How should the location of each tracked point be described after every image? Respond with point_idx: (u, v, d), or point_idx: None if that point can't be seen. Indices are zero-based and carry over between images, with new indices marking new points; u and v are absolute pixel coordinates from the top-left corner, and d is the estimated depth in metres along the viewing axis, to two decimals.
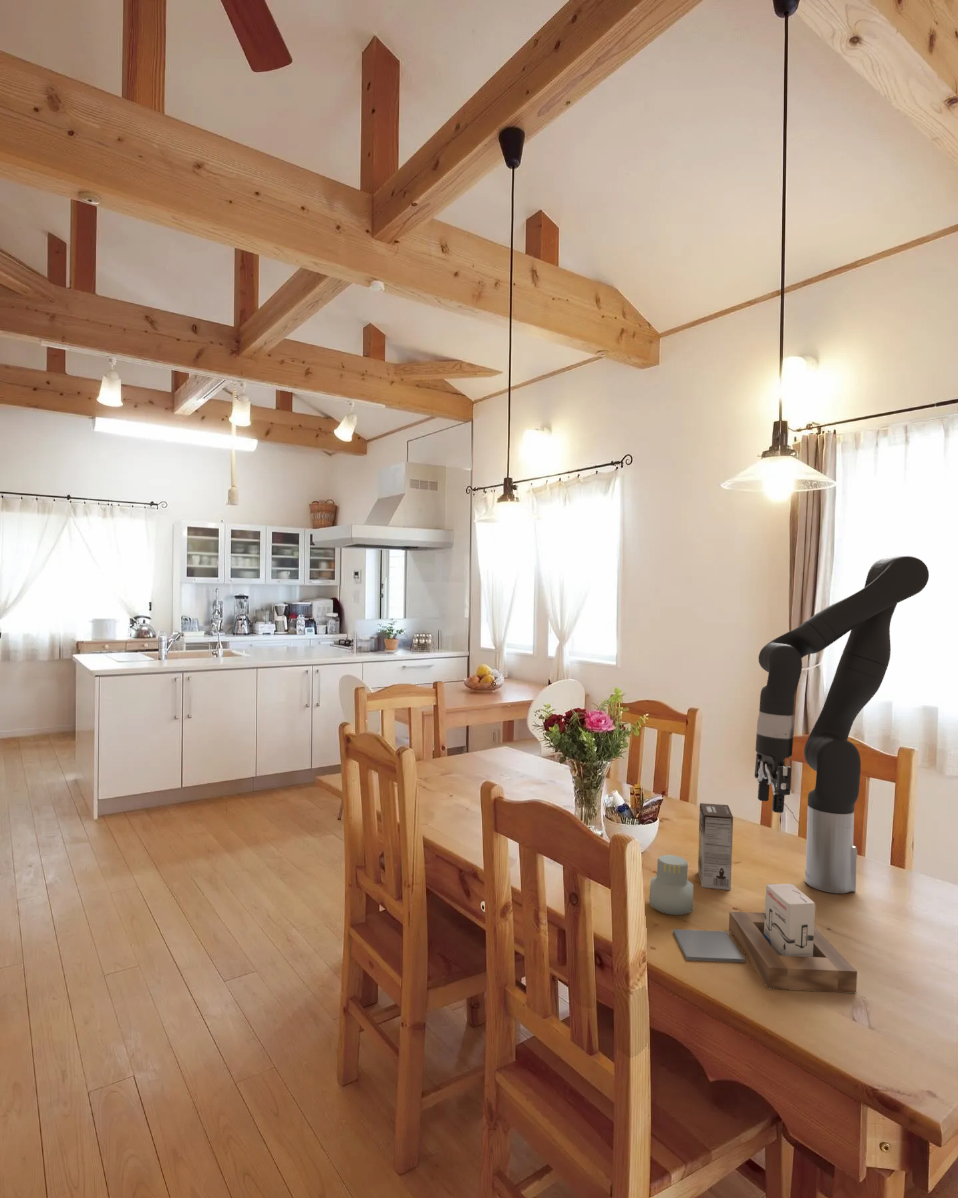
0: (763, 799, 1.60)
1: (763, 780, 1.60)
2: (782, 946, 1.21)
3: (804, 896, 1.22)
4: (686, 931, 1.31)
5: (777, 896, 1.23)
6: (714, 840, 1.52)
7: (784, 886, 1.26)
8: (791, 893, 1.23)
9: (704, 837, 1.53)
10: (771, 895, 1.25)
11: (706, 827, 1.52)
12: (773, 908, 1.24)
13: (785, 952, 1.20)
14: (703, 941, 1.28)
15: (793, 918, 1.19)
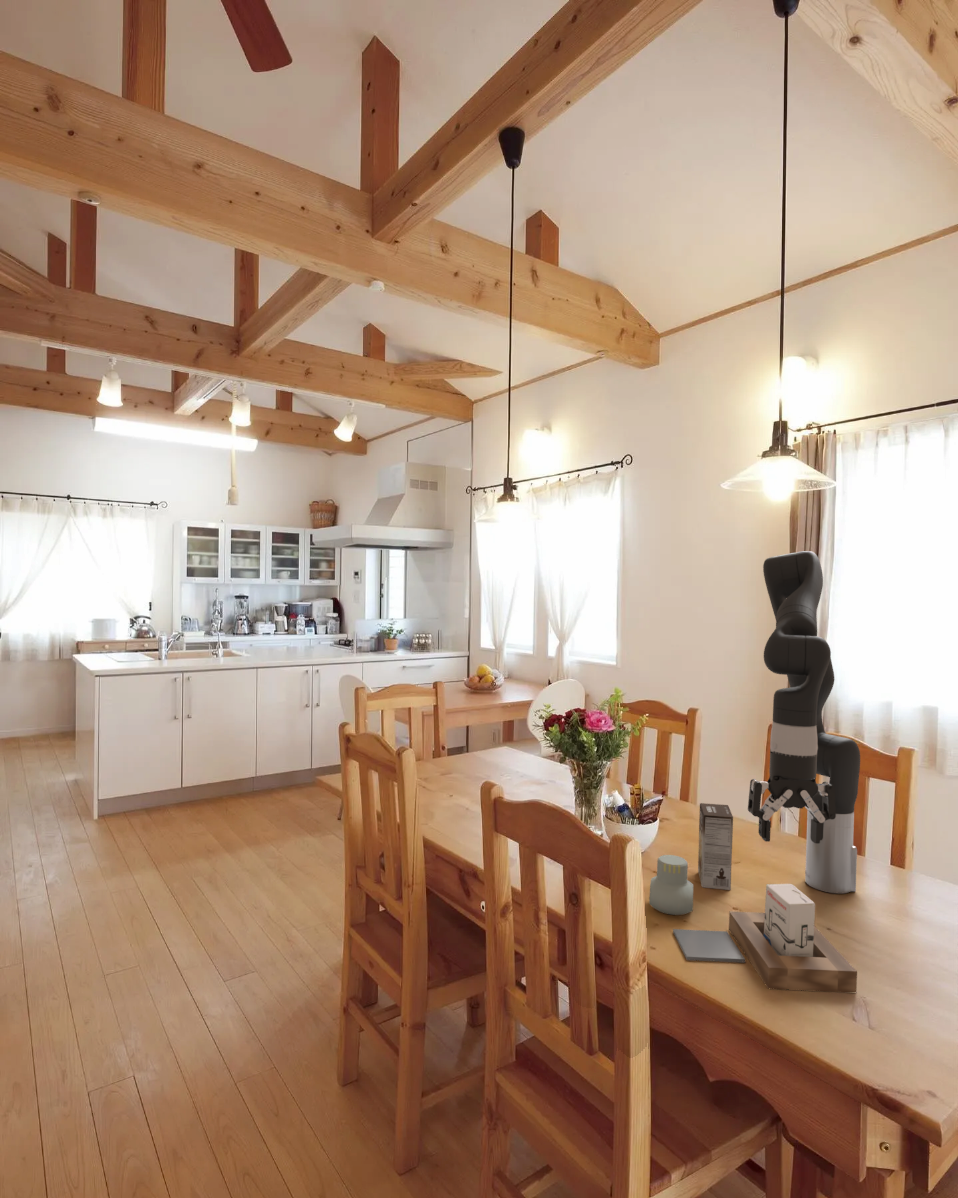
0: None
1: None
2: (782, 946, 1.21)
3: (804, 896, 1.22)
4: (686, 931, 1.31)
5: (777, 896, 1.23)
6: (714, 840, 1.52)
7: (784, 886, 1.26)
8: (791, 893, 1.23)
9: (704, 837, 1.53)
10: (771, 895, 1.25)
11: (706, 827, 1.52)
12: (773, 908, 1.24)
13: (785, 952, 1.20)
14: (703, 941, 1.28)
15: (793, 918, 1.19)
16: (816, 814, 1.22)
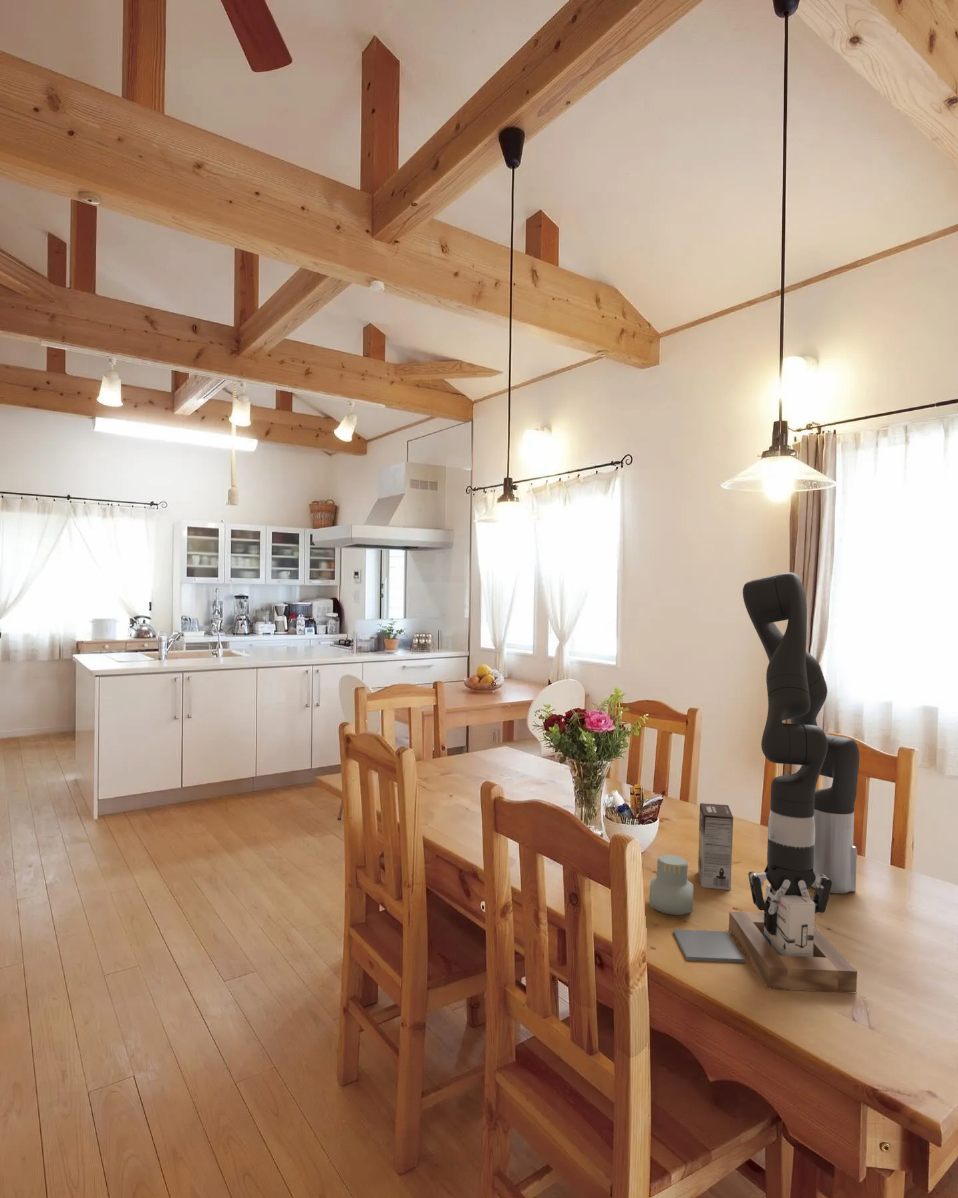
0: None
1: None
2: (782, 945, 1.21)
3: None
4: (686, 931, 1.31)
5: None
6: (714, 840, 1.52)
7: None
8: None
9: (704, 837, 1.53)
10: None
11: (706, 827, 1.52)
12: None
13: (785, 952, 1.20)
14: (703, 941, 1.28)
15: (793, 917, 1.19)
16: None
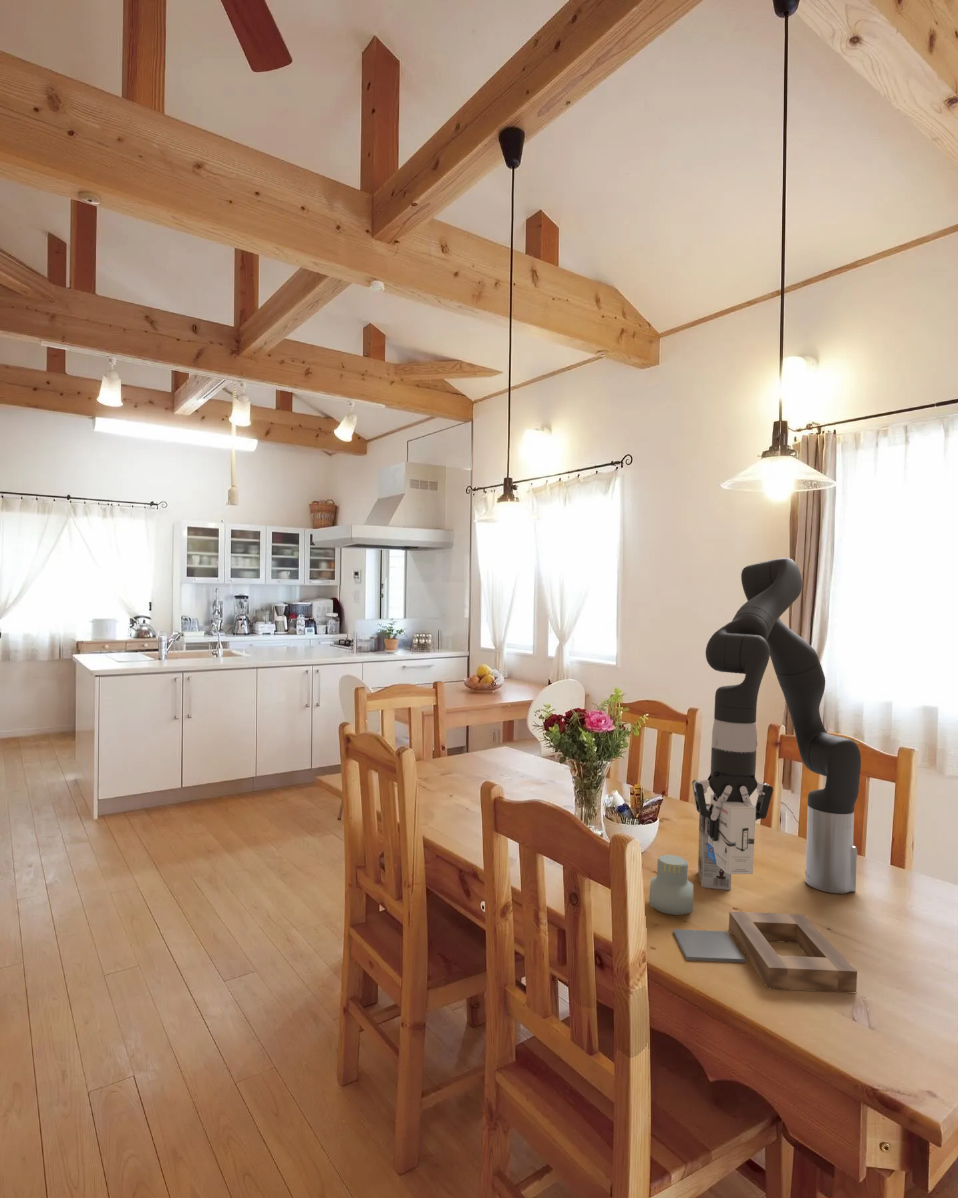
0: None
1: None
2: (724, 850, 1.22)
3: None
4: (686, 931, 1.31)
5: None
6: None
7: None
8: None
9: (704, 837, 1.53)
10: None
11: (706, 827, 1.52)
12: None
13: (726, 856, 1.22)
14: (703, 941, 1.28)
15: (734, 821, 1.21)
16: None
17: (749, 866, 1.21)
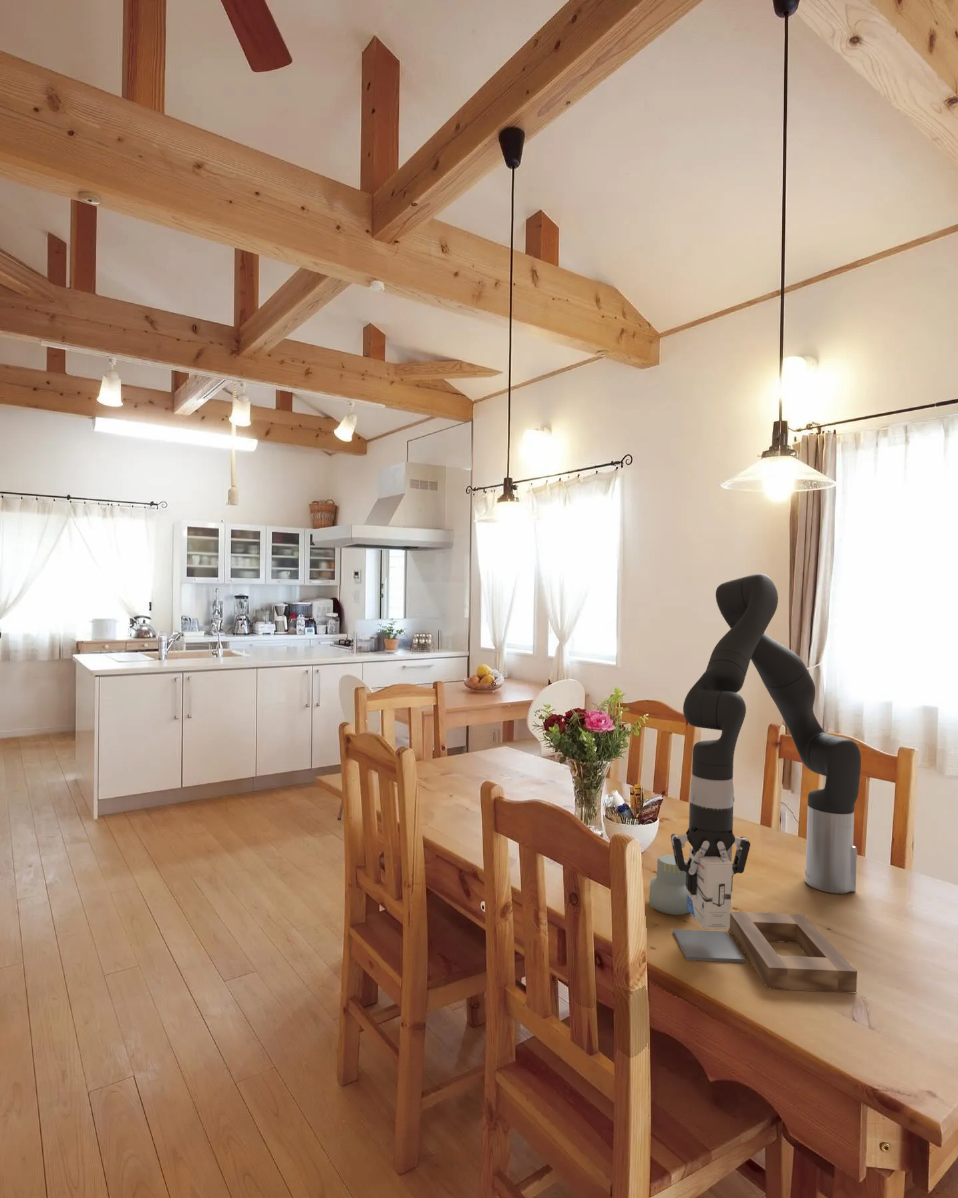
0: None
1: None
2: (701, 904, 1.24)
3: None
4: (686, 931, 1.31)
5: None
6: None
7: None
8: None
9: None
10: None
11: None
12: None
13: (703, 911, 1.23)
14: (703, 941, 1.28)
15: (710, 877, 1.22)
16: None
17: (726, 921, 1.23)
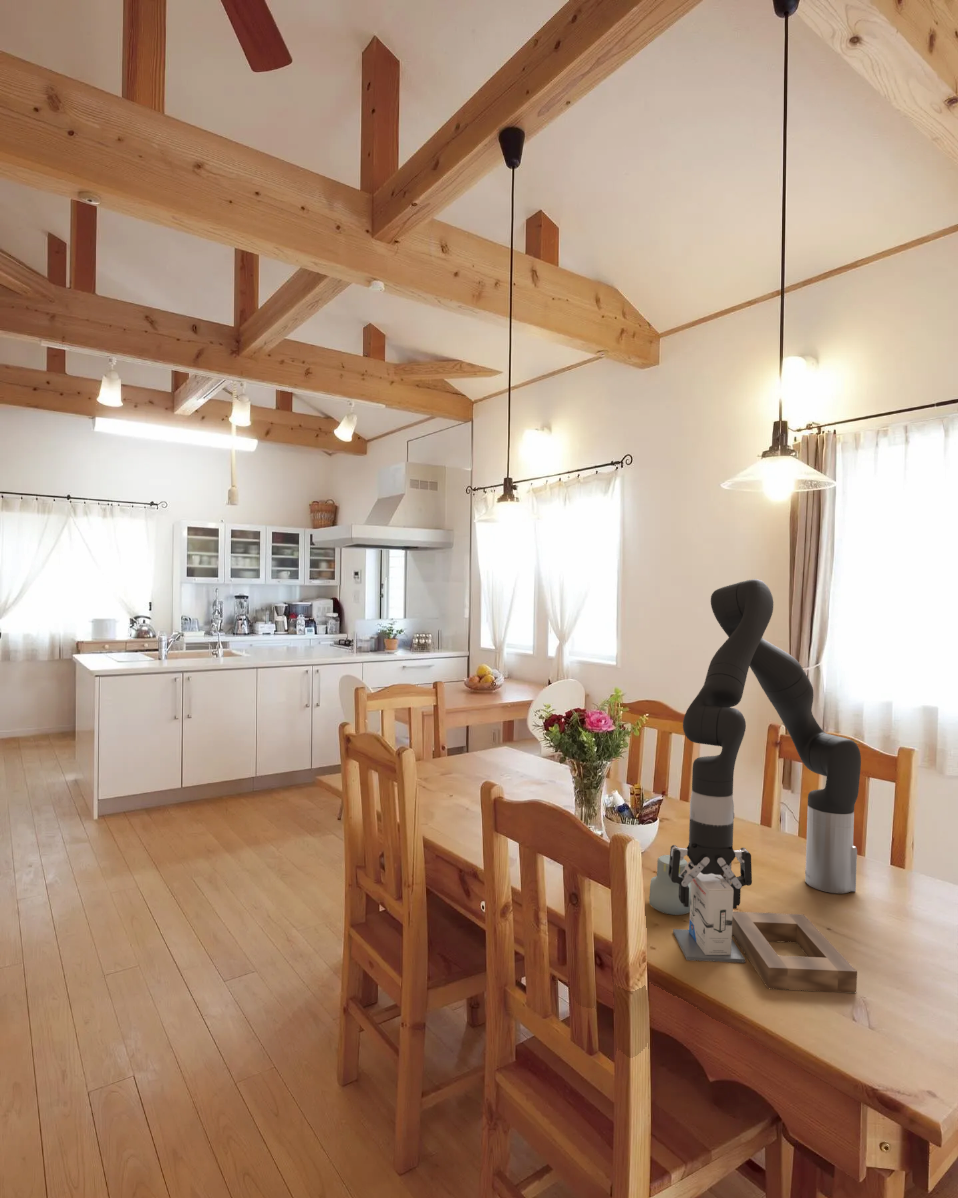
0: None
1: None
2: (702, 930, 1.24)
3: (725, 882, 1.25)
4: (686, 931, 1.31)
5: (699, 882, 1.26)
6: None
7: None
8: (713, 880, 1.27)
9: None
10: (695, 882, 1.28)
11: None
12: (696, 894, 1.27)
13: (704, 937, 1.23)
14: None
15: (711, 903, 1.22)
16: (733, 880, 1.25)
17: (727, 947, 1.23)
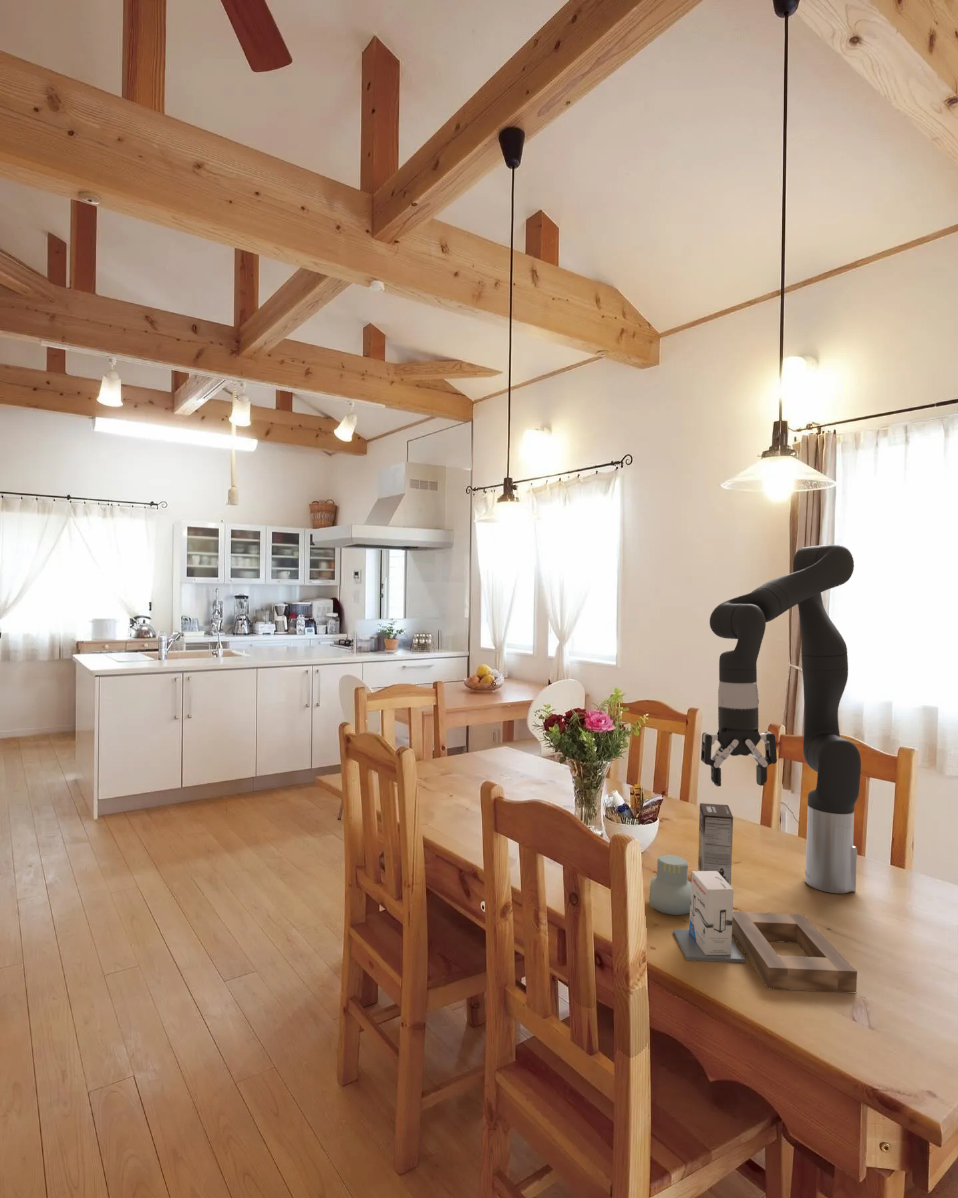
0: None
1: None
2: (702, 930, 1.24)
3: (725, 882, 1.25)
4: (686, 931, 1.31)
5: (699, 882, 1.26)
6: (714, 840, 1.52)
7: (709, 873, 1.29)
8: (713, 880, 1.27)
9: (704, 837, 1.53)
10: (695, 882, 1.28)
11: (706, 827, 1.52)
12: (696, 894, 1.27)
13: (704, 937, 1.23)
14: None
15: (711, 903, 1.22)
16: (760, 760, 1.39)
17: (727, 947, 1.23)
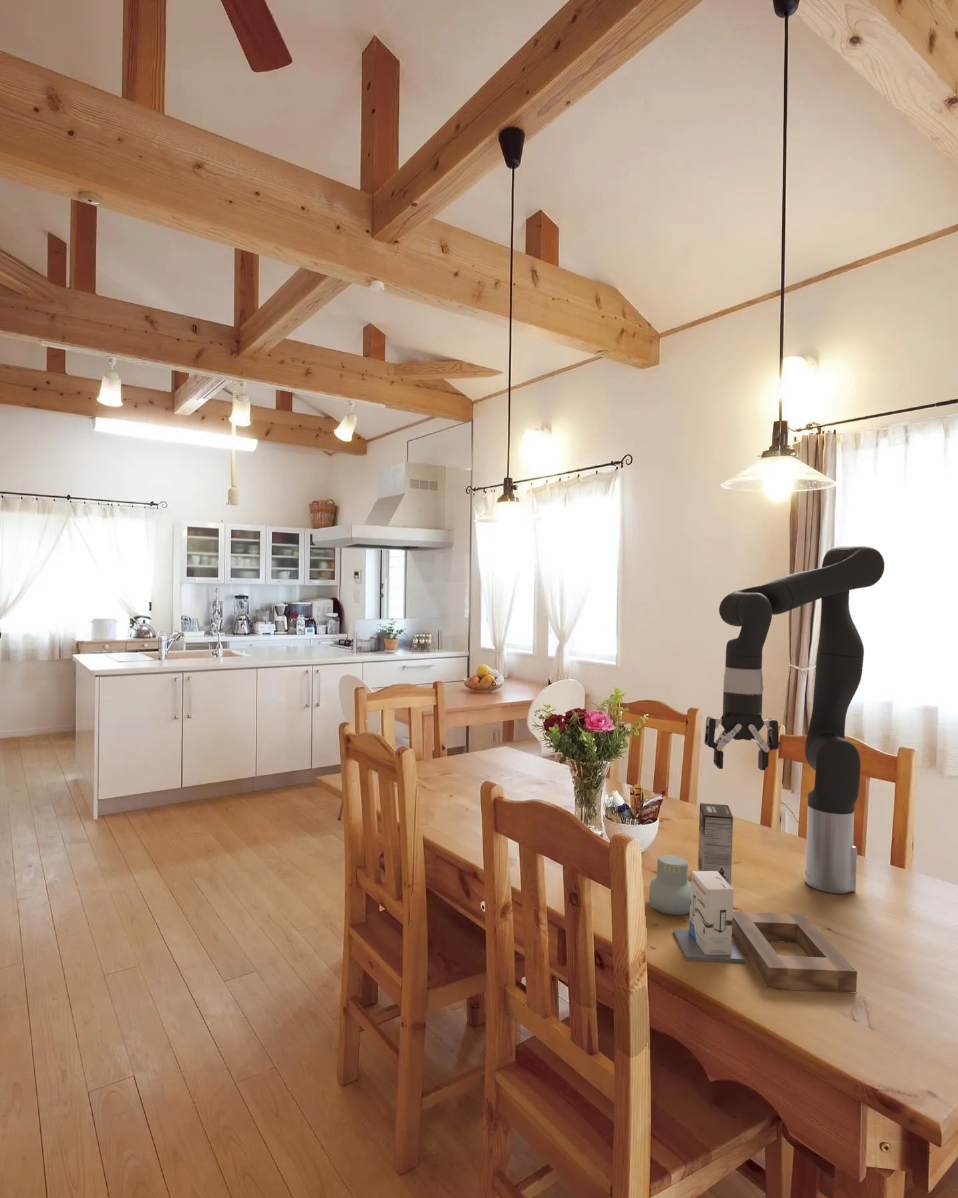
0: None
1: None
2: (702, 930, 1.24)
3: (725, 882, 1.25)
4: (686, 931, 1.31)
5: (699, 882, 1.26)
6: (714, 840, 1.52)
7: (709, 873, 1.29)
8: (713, 880, 1.27)
9: (704, 837, 1.53)
10: (695, 882, 1.28)
11: (706, 827, 1.52)
12: (696, 894, 1.27)
13: (704, 937, 1.23)
14: None
15: (711, 903, 1.22)
16: (762, 745, 1.43)
17: (727, 947, 1.23)
